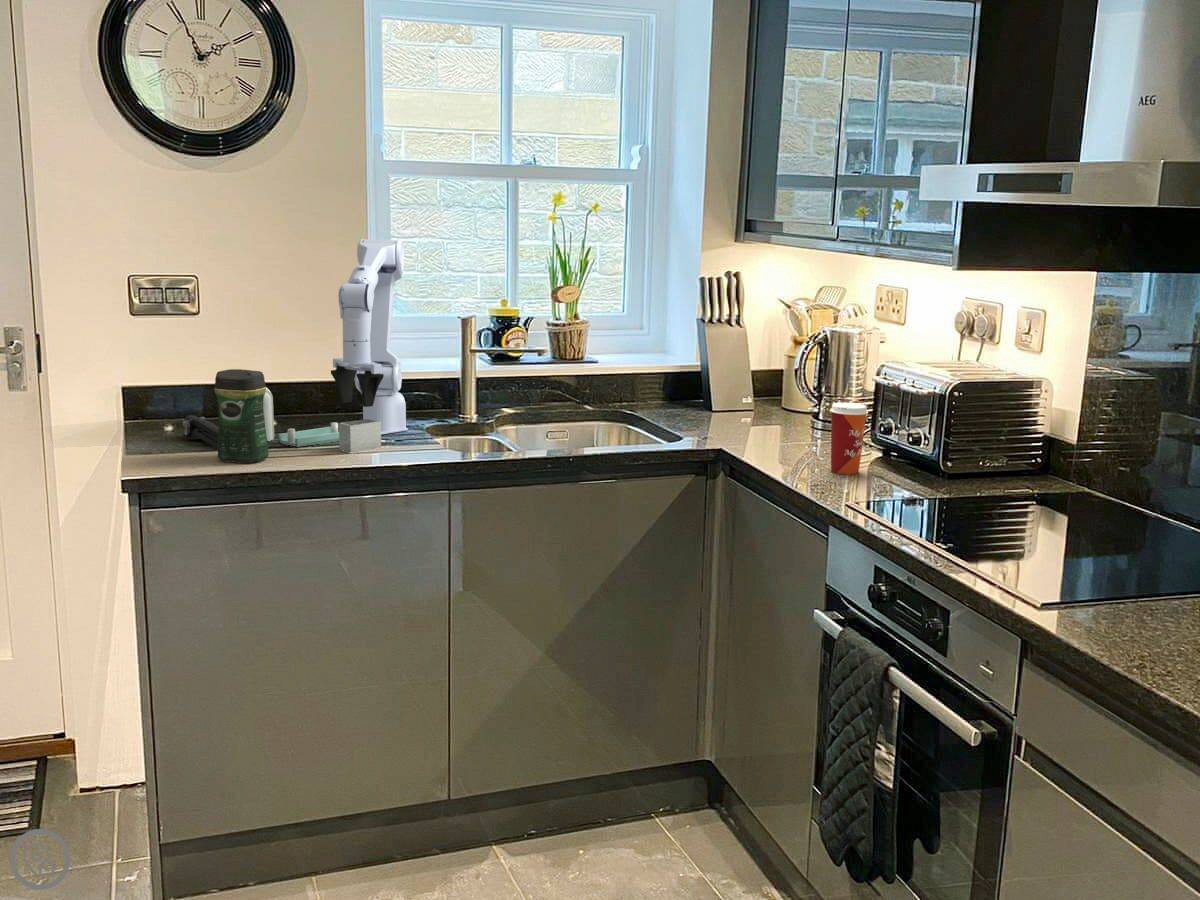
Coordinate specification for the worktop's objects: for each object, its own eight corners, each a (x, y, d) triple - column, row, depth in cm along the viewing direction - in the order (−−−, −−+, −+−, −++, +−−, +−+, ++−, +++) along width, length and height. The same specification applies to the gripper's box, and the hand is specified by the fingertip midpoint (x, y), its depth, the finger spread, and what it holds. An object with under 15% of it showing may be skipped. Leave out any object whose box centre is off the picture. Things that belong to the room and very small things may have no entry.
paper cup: (856, 477, 235) (861, 409, 233) (820, 472, 239) (824, 405, 237) (869, 470, 242) (874, 404, 239) (834, 465, 246) (838, 400, 243)
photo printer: (239, 435, 261) (237, 381, 258) (257, 433, 264) (255, 379, 261) (258, 443, 253) (256, 387, 251) (277, 441, 256) (275, 385, 253)
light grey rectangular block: (369, 445, 254) (369, 418, 253) (381, 448, 252) (380, 420, 251) (339, 450, 249) (338, 422, 247) (350, 453, 246) (350, 425, 245)
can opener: (176, 438, 257) (174, 413, 255) (206, 435, 261) (205, 411, 260) (209, 452, 244) (208, 426, 242) (240, 449, 248) (239, 423, 247)
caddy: (328, 435, 263) (328, 420, 263) (347, 440, 259) (347, 424, 258) (278, 443, 254) (278, 427, 253) (297, 448, 249) (297, 432, 249)
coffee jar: (274, 457, 240) (271, 368, 236) (253, 465, 232) (250, 373, 228) (233, 454, 242) (229, 365, 238) (211, 461, 235) (207, 370, 231)
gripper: (320, 338, 247) (321, 401, 250) (361, 344, 238) (362, 410, 240) (348, 337, 252) (348, 399, 255) (389, 342, 243) (389, 406, 245)
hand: (357, 404), depth 248 cm, fingers open, 7 cm apart
